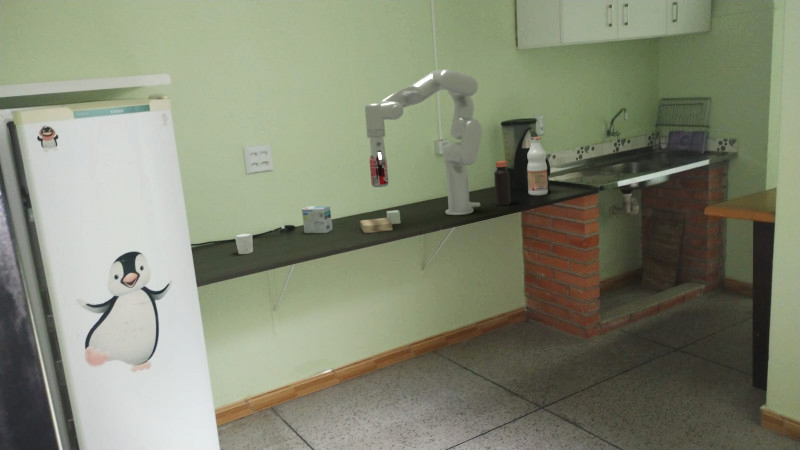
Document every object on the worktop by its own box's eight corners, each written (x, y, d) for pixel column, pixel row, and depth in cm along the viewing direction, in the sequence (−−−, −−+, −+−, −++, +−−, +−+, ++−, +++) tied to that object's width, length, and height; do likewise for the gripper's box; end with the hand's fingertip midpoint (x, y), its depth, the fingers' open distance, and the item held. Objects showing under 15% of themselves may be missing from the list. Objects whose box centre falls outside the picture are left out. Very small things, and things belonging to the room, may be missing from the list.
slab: (387, 224, 298) (387, 217, 297) (392, 230, 286) (391, 223, 285) (360, 227, 296) (359, 220, 295) (364, 233, 284) (363, 226, 283)
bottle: (511, 205, 316) (509, 162, 312) (496, 206, 317) (494, 163, 312) (509, 202, 323) (507, 160, 319) (495, 203, 323) (492, 161, 319)
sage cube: (398, 221, 303) (397, 210, 302) (400, 223, 298) (399, 212, 297) (387, 222, 302) (386, 211, 301) (389, 224, 297) (388, 213, 296)
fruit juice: (524, 194, 338) (522, 138, 332) (535, 191, 344) (533, 135, 338) (540, 196, 331) (538, 138, 325) (551, 192, 338) (549, 136, 332)
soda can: (386, 187, 283) (384, 155, 280) (369, 187, 285) (367, 156, 282) (390, 184, 290) (388, 153, 287) (373, 185, 291) (371, 154, 289)
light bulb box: (333, 229, 296) (330, 205, 294) (326, 233, 290) (323, 208, 288) (310, 229, 300) (308, 205, 297) (303, 233, 294) (301, 208, 291)
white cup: (238, 250, 272) (235, 233, 271) (255, 249, 273) (253, 232, 271) (235, 255, 265) (233, 237, 264) (253, 253, 266) (251, 236, 264)
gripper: (388, 134, 275) (391, 178, 279) (381, 131, 292) (384, 173, 296) (369, 135, 274) (373, 180, 278) (364, 132, 291) (367, 174, 295)
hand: (379, 176), depth 287 cm, fingers closed on soda can, 6 cm apart
